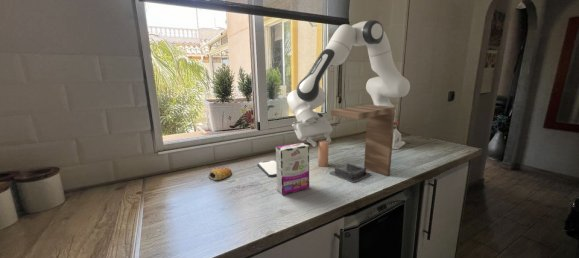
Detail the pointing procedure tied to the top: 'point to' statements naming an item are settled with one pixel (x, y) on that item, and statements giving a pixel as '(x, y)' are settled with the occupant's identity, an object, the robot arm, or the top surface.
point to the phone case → (268, 168)
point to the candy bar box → (292, 168)
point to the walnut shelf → (374, 134)
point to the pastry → (219, 173)
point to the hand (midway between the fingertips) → (322, 144)
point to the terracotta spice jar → (323, 153)
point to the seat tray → (350, 173)
